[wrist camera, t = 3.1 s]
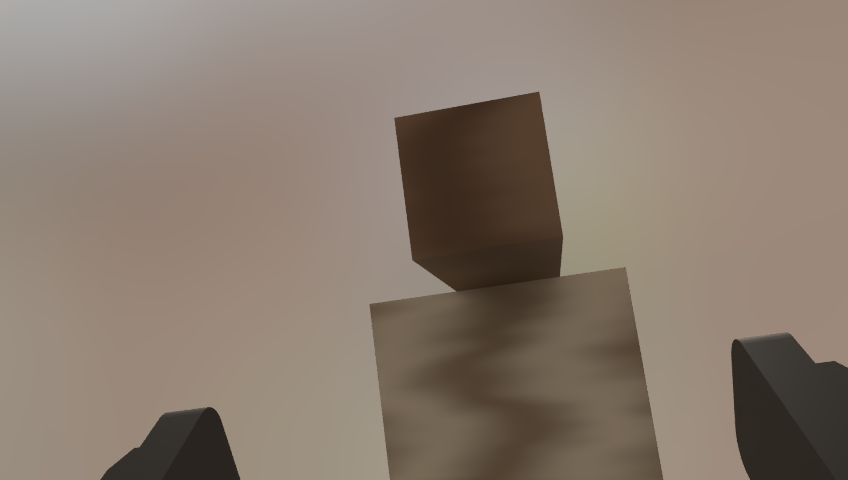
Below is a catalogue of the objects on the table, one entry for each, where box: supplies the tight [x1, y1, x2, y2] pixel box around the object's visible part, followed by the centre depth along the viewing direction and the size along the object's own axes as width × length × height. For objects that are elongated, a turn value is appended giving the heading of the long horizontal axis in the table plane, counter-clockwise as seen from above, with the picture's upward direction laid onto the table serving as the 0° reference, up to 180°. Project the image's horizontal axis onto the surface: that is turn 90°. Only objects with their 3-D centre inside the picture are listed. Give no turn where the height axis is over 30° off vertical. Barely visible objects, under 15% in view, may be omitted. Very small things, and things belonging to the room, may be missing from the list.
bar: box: [395, 92, 563, 291], centre depth 33 cm, size 4×26×4 cm, turn 170°
